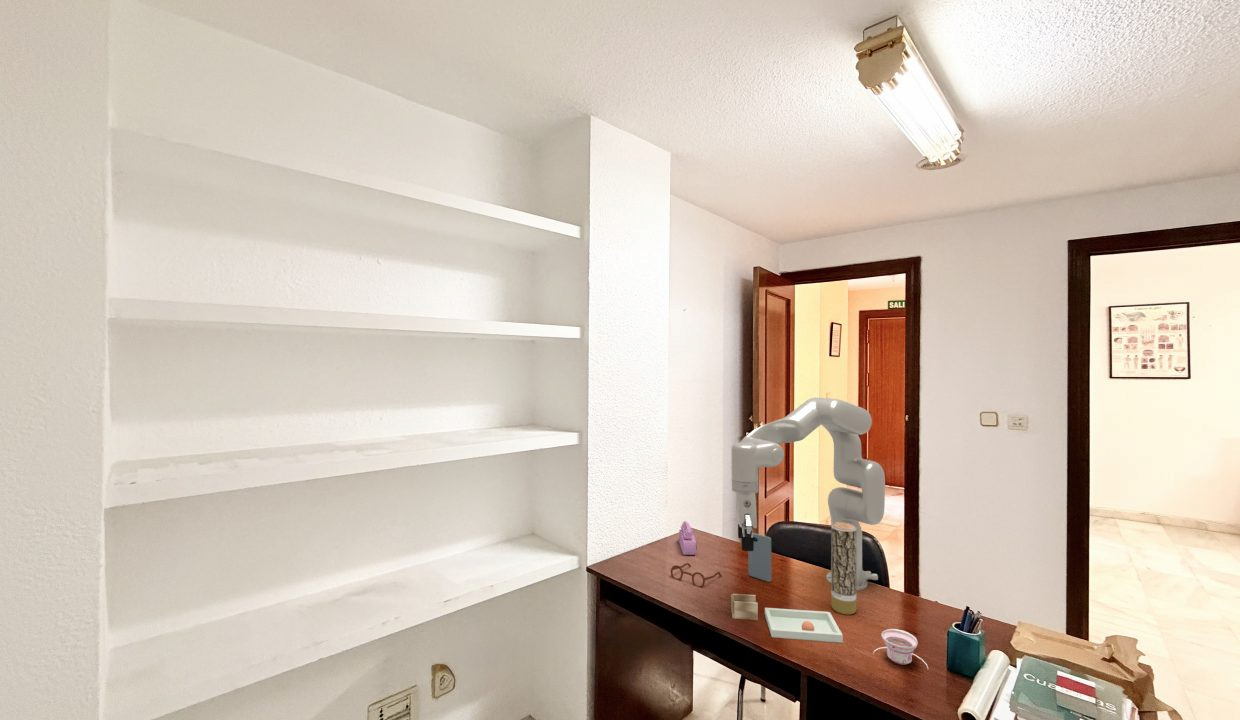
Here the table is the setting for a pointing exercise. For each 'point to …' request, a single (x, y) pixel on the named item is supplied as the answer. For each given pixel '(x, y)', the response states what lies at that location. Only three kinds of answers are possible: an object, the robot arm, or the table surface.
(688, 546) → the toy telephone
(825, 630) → the tray
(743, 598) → the beige open holder
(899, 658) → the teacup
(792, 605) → the table surface
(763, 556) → the smartphone
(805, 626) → the ball
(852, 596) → the paper tube
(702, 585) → the glasses
